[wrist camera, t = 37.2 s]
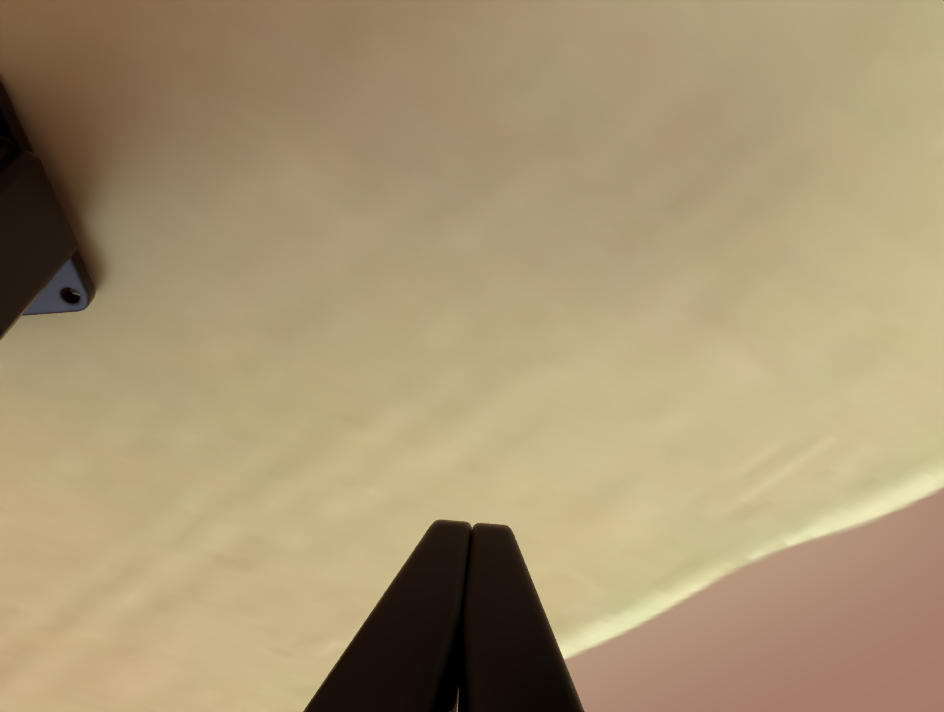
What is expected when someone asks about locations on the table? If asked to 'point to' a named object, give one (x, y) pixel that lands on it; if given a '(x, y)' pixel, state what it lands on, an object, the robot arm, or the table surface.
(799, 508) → the table surface
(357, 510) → the table surface
